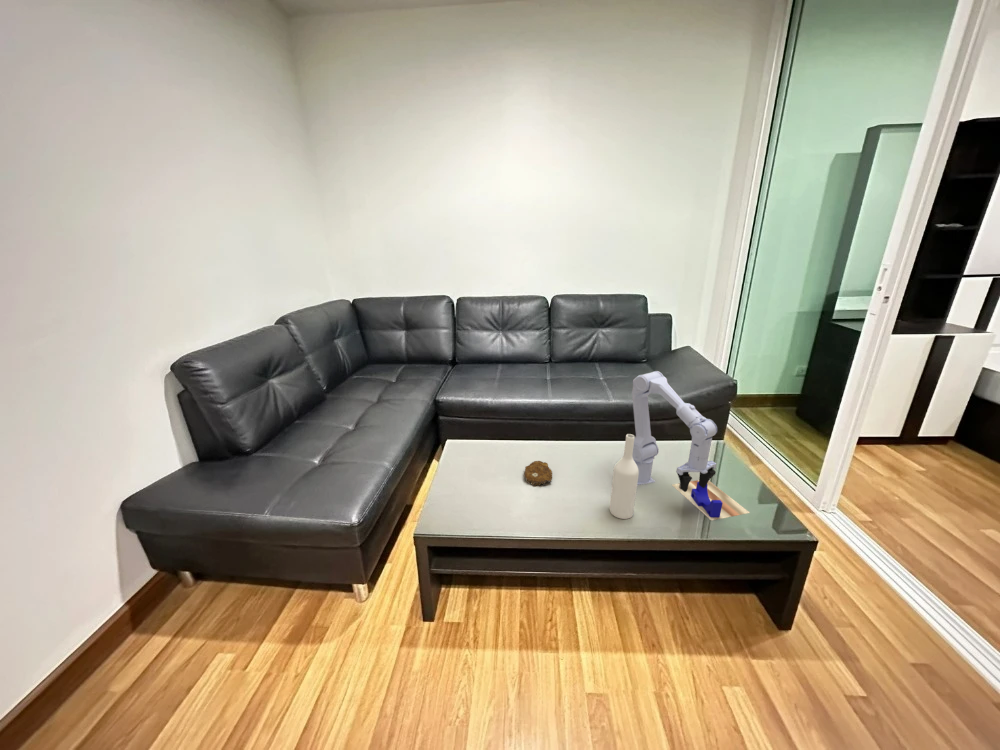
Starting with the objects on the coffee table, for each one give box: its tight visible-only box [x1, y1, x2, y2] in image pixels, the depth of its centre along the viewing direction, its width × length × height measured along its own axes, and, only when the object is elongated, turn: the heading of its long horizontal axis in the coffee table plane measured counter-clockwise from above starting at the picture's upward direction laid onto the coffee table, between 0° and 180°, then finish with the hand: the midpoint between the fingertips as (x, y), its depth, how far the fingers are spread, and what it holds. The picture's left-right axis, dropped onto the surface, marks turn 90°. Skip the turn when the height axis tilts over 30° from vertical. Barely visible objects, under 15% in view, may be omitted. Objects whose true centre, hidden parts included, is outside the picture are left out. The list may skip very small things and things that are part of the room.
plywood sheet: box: [671, 479, 751, 521], centre depth 144 cm, size 16×21×1 cm
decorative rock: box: [523, 460, 553, 487], centre depth 158 cm, size 11×4×15 cm
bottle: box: [609, 433, 639, 520], centre depth 133 cm, size 8×8×30 cm
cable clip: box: [691, 482, 723, 517], centre depth 139 cm, size 12×4×6 cm, turn 179°
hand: (692, 488), depth 137 cm, fingers open, 7 cm apart
